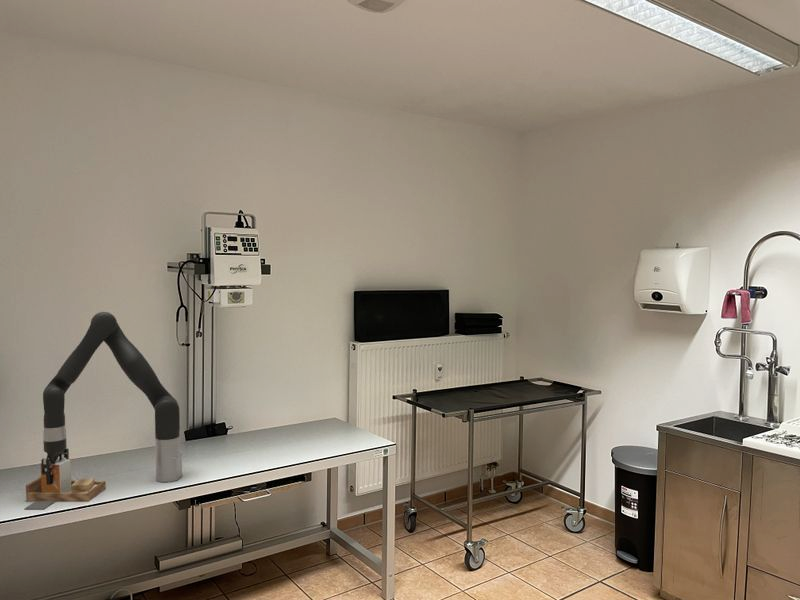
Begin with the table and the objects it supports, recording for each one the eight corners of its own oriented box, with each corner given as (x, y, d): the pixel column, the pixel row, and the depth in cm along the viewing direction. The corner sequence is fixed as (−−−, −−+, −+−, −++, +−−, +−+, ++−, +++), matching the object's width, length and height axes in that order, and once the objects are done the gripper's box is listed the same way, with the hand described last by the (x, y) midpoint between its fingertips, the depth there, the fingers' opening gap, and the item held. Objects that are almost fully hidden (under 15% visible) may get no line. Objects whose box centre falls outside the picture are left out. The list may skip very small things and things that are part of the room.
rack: (105, 488, 235) (105, 473, 235) (88, 501, 222) (87, 485, 222) (47, 488, 236) (46, 473, 235) (26, 501, 223) (25, 485, 222)
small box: (41, 497, 226) (39, 463, 226) (53, 491, 233) (52, 458, 232) (60, 498, 225) (59, 464, 225) (72, 492, 231) (71, 459, 231)
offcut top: (94, 484, 233) (94, 478, 232) (88, 491, 226) (88, 484, 226) (78, 485, 232) (77, 479, 231) (71, 492, 225) (71, 485, 225)
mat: (55, 502, 222) (55, 500, 222) (43, 509, 215) (43, 508, 215) (36, 501, 222) (36, 500, 222) (24, 509, 215) (24, 508, 215)
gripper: (53, 443, 221) (55, 487, 222) (75, 432, 235) (76, 474, 236) (33, 443, 221) (34, 487, 222) (56, 432, 235) (57, 474, 236)
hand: (56, 480), depth 229 cm, fingers open, 7 cm apart
